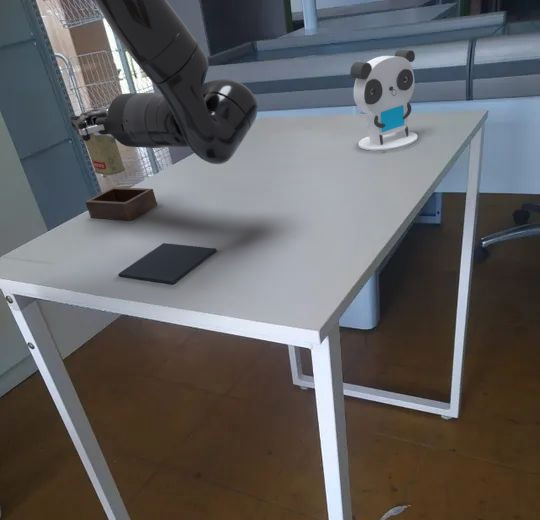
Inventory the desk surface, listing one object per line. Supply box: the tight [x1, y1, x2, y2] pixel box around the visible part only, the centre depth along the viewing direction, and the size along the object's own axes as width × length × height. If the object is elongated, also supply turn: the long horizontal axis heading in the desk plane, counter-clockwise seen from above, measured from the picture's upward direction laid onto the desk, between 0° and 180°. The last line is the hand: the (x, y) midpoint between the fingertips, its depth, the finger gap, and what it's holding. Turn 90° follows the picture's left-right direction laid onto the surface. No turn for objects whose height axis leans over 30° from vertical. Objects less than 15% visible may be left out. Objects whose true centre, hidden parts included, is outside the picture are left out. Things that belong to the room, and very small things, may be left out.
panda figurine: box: [350, 49, 419, 152], centre depth 103 cm, size 12×11×15 cm
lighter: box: [79, 109, 126, 176], centre depth 92 cm, size 7×4×10 cm, turn 44°
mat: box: [117, 242, 217, 285], centre depth 77 cm, size 10×10×1 cm
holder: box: [84, 186, 158, 221], centre depth 98 cm, size 7×10×3 cm
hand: (84, 119), depth 92 cm, fingers closed on lighter, 3 cm apart
